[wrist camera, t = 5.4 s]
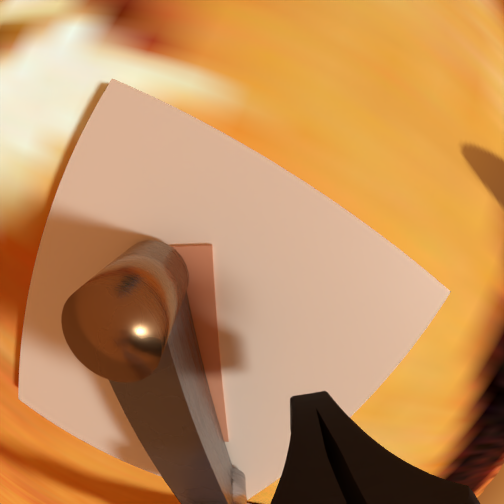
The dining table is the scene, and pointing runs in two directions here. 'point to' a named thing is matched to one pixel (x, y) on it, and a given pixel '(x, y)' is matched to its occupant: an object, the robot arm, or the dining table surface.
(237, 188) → the board
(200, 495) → the lever
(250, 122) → the dining table surface
